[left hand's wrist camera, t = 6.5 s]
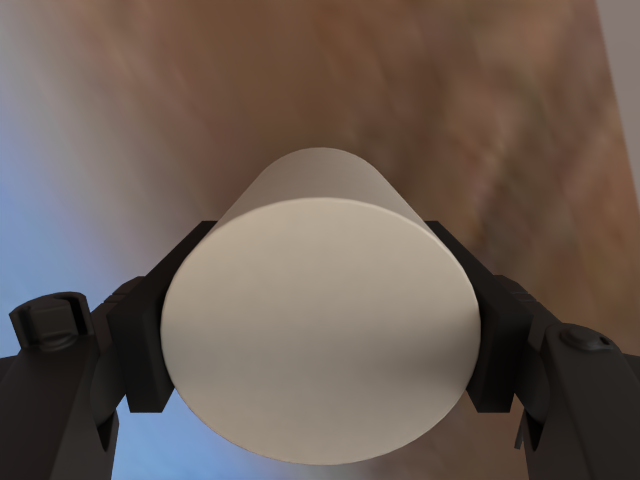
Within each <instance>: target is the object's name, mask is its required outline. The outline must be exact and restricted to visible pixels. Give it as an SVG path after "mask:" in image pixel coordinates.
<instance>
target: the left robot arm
mask: <svg viewBox="0 0 640 480" xmlns="http://www.w3.org/2000/svg"><path fill="white" fill-rule="evenodd" d="M217 222H218V221H202V222H201V223H200V224H199V225H198V226H197V227H195V228H194V229H193V230H192V231H191V232H190V233H189V234H188V235H187V236H186V237H185V238H184V239H183V240H182V241H181V242H180V243H179V244H178V245H177V246H176V247H175V248H174V249H173V250H172V251H171V252H170V253H169V254H168V255H167V256H166V257H165V258H164V259H163V260H162V261H161V262H160V263H158V264H157V265H156V266H155V267H154V268H153V269H152V270H151V271H150V272H149V273H148V274H147V275H146V276H138V277H136V278H134V279H132V280H130V281H128V282H126V283H124V284H122V285H121V286H120V287H119V288H118V289H117V290H116V291H114V292H113V293H112V295H110V296H109V297H108V298H107V299H106V300H104V303H101V304H100V305H99V306H98V307H97V308H96V309H94V310H93V311H92V312H91V313H90V310H89V307H88V303H87V299H86V296H85V295H83V294H81V293H78V292H59V293H53V294H49V295H45V296H41V297H38V298H35V299H33V300H30V301H28V302H26V303H24V304H22V305H20V306H18V307H16V308H15V309H14V310H13V311H12V312H11V313H9V316H10V319H11V322H12V325H13V327H14V330H15V333H16V336H17V338H18V341H19V344H20V347H21V350H20V351H19V353H18V355H16V356H10V357H5V358H0V480H111V476H112V469H113V462H114V455H115V449H116V442H117V435H118V428H119V419H118V415H117V411H116V407H117V406H118V404H119V403H120V401H121V400H122V398H123V397H124V395H125V394H126V398H127V402H128V406H129V410H130V413H162V411H163V409H164V408H165V406H166V404H167V402H168V400H169V398H170V396H171V394H172V392H173V390H174V388H175V386H174V384H173V383H172V381H171V378H170V376H169V373H168V371H167V368H166V365H165V361H164V357H163V353H162V348H161V334H160V327H161V316H162V309H163V305H164V301H165V297H166V293H167V291H168V289H169V286H170V284H171V282H172V280H173V277H174V275H175V274H176V272H177V271H178V269H179V267H180V266H181V264H182V263H183V261H184V260H185V258H186V257H187V256H188V255H189V254H190V253H191V251H192V250H193V249H194V248H195V247H196V246H197V245H198V244H199V242H200V241H201V240H202V239H203V238H204V237H205V236H206V235H207V233H208V232H209V231H210V230H211V229H212V228H213V227H214V226H215V224H216V223H217ZM423 222H424V223H425V224H426V225H427V226H428V227H429V228H430V229H431V230H432V232H433V233H434V234H435V235H436V236H437V237H438V238H439V239H440V240H441V241H442V243H443V244H444V245H445V246H446V247H447V248H448V249H449V250H450V251H451V253H452V254H453V255H454V257H455V258H456V260H457V261H458V262H459V264H460V265H461V266H462V268H463V269H464V271H465V273H466V275H467V277H468V279H469V281H470V283H471V285H472V287H473V290H474V293H475V296H476V299H477V302H478V307H479V314H480V320H481V342H480V348H479V355H478V359H477V362H476V366H475V369H474V372H473V375H472V377H471V379H470V381H469V383H468V385H467V387H466V391H467V392H468V394H469V396H470V398H471V400H472V402H473V404H474V406H475V408H476V410H477V412H478V413H509V412H510V409H511V405H512V401H513V397H514V393H515V394H516V395H517V397H518V398H519V400H520V401H521V403H522V404H523V406H524V411H523V415H522V418H521V422H520V426H519V429H518V433H517V437H516V441H515V447H514V448H516V449H520V447H521V443H522V442H523V441H524V448H525V454H526V461H527V468H528V475H529V480H640V357H639V356H634V355H628V354H623V353H622V352H621V351H620V349H619V348H618V347H617V345H616V344H615V343H614V342H613V341H612V340H610V339H609V338H607V337H606V336H604V335H602V334H601V333H599V332H596V331H594V330H592V329H589V328H587V327H583V326H579V325H575V324H569V323H562V322H561V321H560V320H558V319H557V318H556V317H555V316H554V315H553V314H552V313H551V312H549V311H548V310H547V309H546V308H545V307H544V306H543V305H542V304H540V303H539V302H536V299H535V298H534V297H533V296H532V295H530V294H528V292H527V291H526V290H525V289H524V288H523V287H521V286H520V285H519V284H518V283H517V282H515V281H513V280H511V279H509V278H507V277H505V276H503V275H493V274H492V273H491V272H489V271H488V270H487V269H486V268H485V267H484V266H483V265H482V264H481V263H480V262H479V261H478V260H477V259H476V258H475V257H474V256H473V255H472V254H471V253H470V252H469V251H468V250H467V249H466V248H465V247H464V246H463V245H462V244H461V243H460V242H459V241H458V240H457V239H456V238H455V237H454V236H452V235H451V234H450V233H449V232H448V231H447V230H446V229H445V228H444V227H443V226H442V225H441V224H440V223H439V222H438V221H423Z"/></svg>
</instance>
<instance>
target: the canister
mask: <svg viewBox="0 0 640 480" xmlns="http://www.w3.org/2000/svg"><path fill="white" fill-rule="evenodd" d="M160 334H161V348H162V353H163V357H164V361H165V365H166V368H167V371H168V373H169V376H170V378H171V381H172V383H173V384H174V386H175V388H176V390H177V391H178V393H179V395H180V397H181V398H182V399H183V401H184V402H185V403H186V404H187V406H188V407H189V408H190V410H191V411H192V412H193V413H194V414H195V415H196V416H197V417H198V418H199V419H200V420H201V421H202V422H203V423H204V424H206V425H207V426H208V427H209V428H211V429H212V430H213V431H214V432H216V433H217V434H219V435H220V436H222V437H223V438H225V439H226V440H228V441H230V442H231V443H233V444H235V445H237V446H239V447H241V448H243V449H245V450H248V451H250V452H253V453H256V454H258V455H261V456H264V457H268V458H271V459H275V460H279V461H284V462H290V463H296V464H307V465H335V464H344V463H352V462H357V461H362V460H366V459H370V458H374V457H377V456H380V455H383V454H386V453H388V452H391V451H393V450H395V449H398V448H400V447H402V446H404V445H406V444H408V443H410V442H411V441H413V440H415V439H417V438H418V437H420V436H421V435H422V434H424V433H425V432H427V431H428V430H430V429H431V428H432V427H433V426H434V425H436V424H437V423H438V422H439V421H440V420H441V419H442V418H443V417H444V416H445V415H446V414H447V413H448V412H449V411H450V410H451V408H452V407H453V406H454V405H455V404H456V402H457V401H458V400H459V398H460V397H461V395H462V394H463V392H464V391H465V389H466V387H467V385H468V383H469V381H470V379H471V377H472V375H473V372H474V369H475V366H476V362H477V359H478V355H479V348H480V342H481V320H480V314H479V307H478V302H477V299H476V296H475V293H474V290H473V287H472V285H471V283H470V281H469V279H468V277H467V275H466V273H465V271H464V269H463V268H462V266H461V265H460V264H459V262H458V261H457V260H456V258H455V257H454V255H453V254H452V253H451V251H450V250H449V249H448V248H447V247H446V246H445V245H444V244H443V243H442V241H441V240H440V239H439V238H438V237H437V236H436V235H435V234H434V233H433V232H432V230H431V229H430V228H429V227H428V226H427V225H426V224H425V223H424V222H423V220H422V219H421V218H420V217H419V216H418V215H417V214H416V213H415V212H414V210H413V209H412V208H411V207H410V206H409V205H408V204H407V203H406V202H405V200H404V199H403V198H402V197H401V196H400V195H399V194H398V193H397V192H396V190H395V189H394V188H393V187H392V186H391V185H390V184H389V183H388V182H387V181H386V179H385V178H384V177H383V176H382V175H381V174H380V173H379V172H378V171H377V170H376V169H375V168H374V167H373V166H372V165H370V164H369V163H368V162H366V161H365V160H363V159H361V158H360V157H358V156H356V155H354V154H351V153H348V152H346V151H342V150H338V149H333V148H324V147H323V148H308V149H302V150H298V151H295V152H292V153H289V154H287V155H285V156H283V157H281V158H279V159H278V160H276V161H275V162H273V163H271V164H270V165H269V166H268V167H267V168H266V169H264V170H263V171H262V173H261V174H260V175H259V176H258V177H257V178H256V179H255V180H254V182H253V183H252V184H251V185H250V186H249V187H248V188H247V189H246V191H245V192H244V193H243V194H242V195H241V196H240V197H239V199H238V200H237V201H236V202H235V203H234V204H233V205H232V206H231V208H230V209H229V210H228V211H227V212H226V213H225V214H224V215H223V217H222V218H221V219H220V220H219V221H218V222H217V223H216V224H215V226H214V227H213V228H212V229H211V230H210V231H209V232H208V233H207V235H206V236H205V237H204V238H203V239H202V240H201V241H200V242H199V244H198V245H197V246H196V247H195V248H194V249H193V250H192V251H191V253H190V254H189V255H188V256H187V257H186V258H185V260H184V261H183V263H182V264H181V266H180V267H179V269H178V271H177V272H176V274H175V275H174V277H173V280H172V282H171V284H170V286H169V289H168V291H167V293H166V297H165V301H164V305H163V309H162V316H161V327H160Z"/></svg>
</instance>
